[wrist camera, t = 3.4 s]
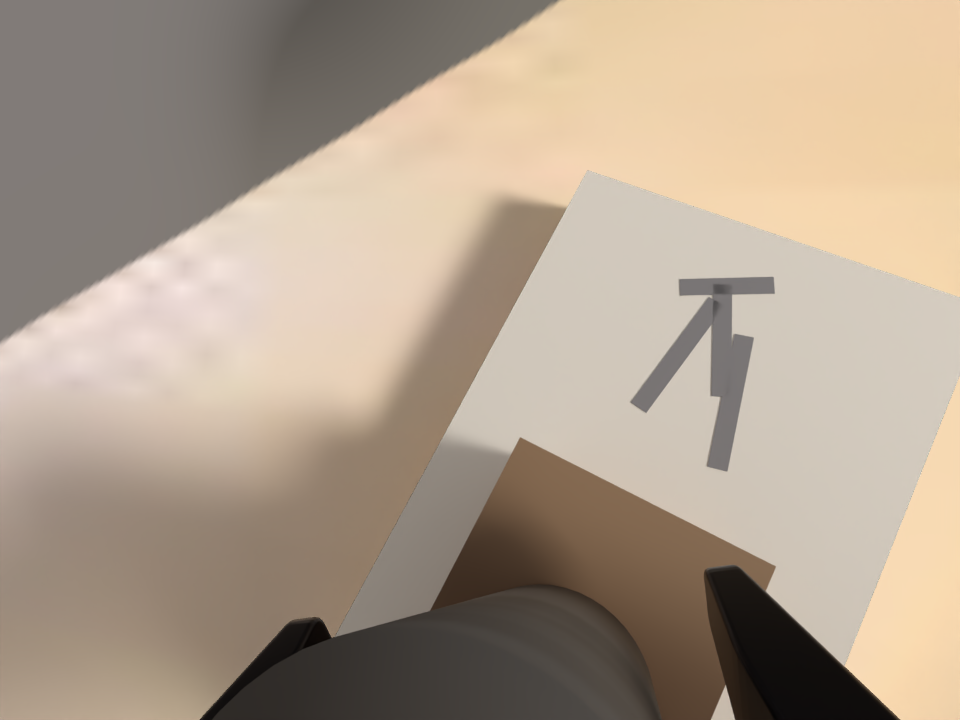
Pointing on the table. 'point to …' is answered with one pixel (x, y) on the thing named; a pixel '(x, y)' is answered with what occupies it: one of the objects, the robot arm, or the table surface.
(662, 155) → the table surface
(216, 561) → the table surface
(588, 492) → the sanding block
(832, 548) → the board
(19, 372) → the table surface
